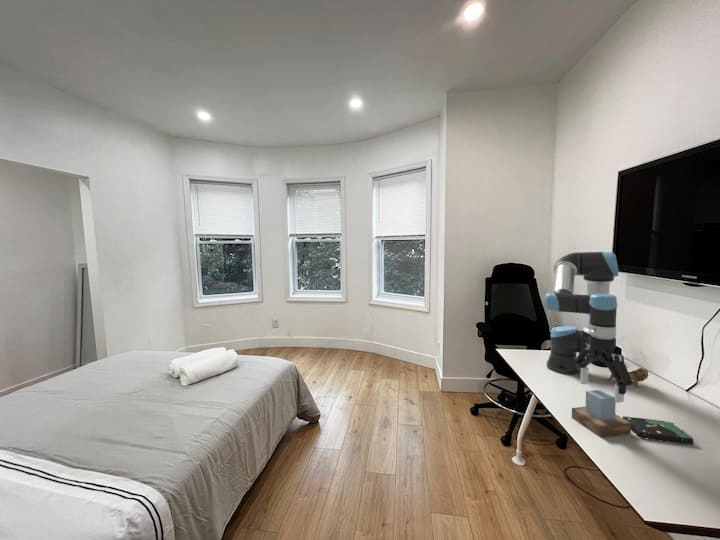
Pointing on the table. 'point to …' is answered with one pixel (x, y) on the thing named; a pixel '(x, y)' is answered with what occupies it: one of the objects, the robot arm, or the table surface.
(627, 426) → the walnut base
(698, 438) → the table surface
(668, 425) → the disk drive
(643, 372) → the lion figurine
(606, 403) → the slate block
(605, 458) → the table surface
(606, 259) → the robot arm
